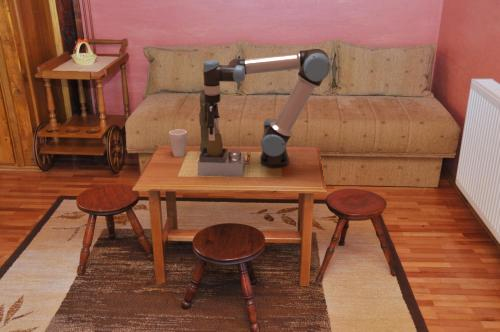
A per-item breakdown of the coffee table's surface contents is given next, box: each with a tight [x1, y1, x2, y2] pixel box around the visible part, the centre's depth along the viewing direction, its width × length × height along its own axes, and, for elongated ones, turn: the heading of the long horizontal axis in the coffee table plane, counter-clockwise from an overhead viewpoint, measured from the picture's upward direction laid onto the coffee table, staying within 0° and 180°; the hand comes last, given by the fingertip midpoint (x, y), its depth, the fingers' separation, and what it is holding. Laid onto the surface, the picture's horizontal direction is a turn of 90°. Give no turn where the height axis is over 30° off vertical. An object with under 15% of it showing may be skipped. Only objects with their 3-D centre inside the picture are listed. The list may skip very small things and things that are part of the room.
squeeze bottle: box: [207, 122, 224, 157], centre depth 257 cm, size 8×8×18 cm
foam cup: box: [168, 128, 188, 158], centre depth 280 cm, size 10×9×13 cm
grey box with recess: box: [197, 147, 246, 178], centre depth 263 cm, size 22×18×10 cm
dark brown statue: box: [198, 90, 209, 153], centre depth 276 cm, size 9×12×35 cm
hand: (214, 135), depth 256 cm, fingers open, 13 cm apart
